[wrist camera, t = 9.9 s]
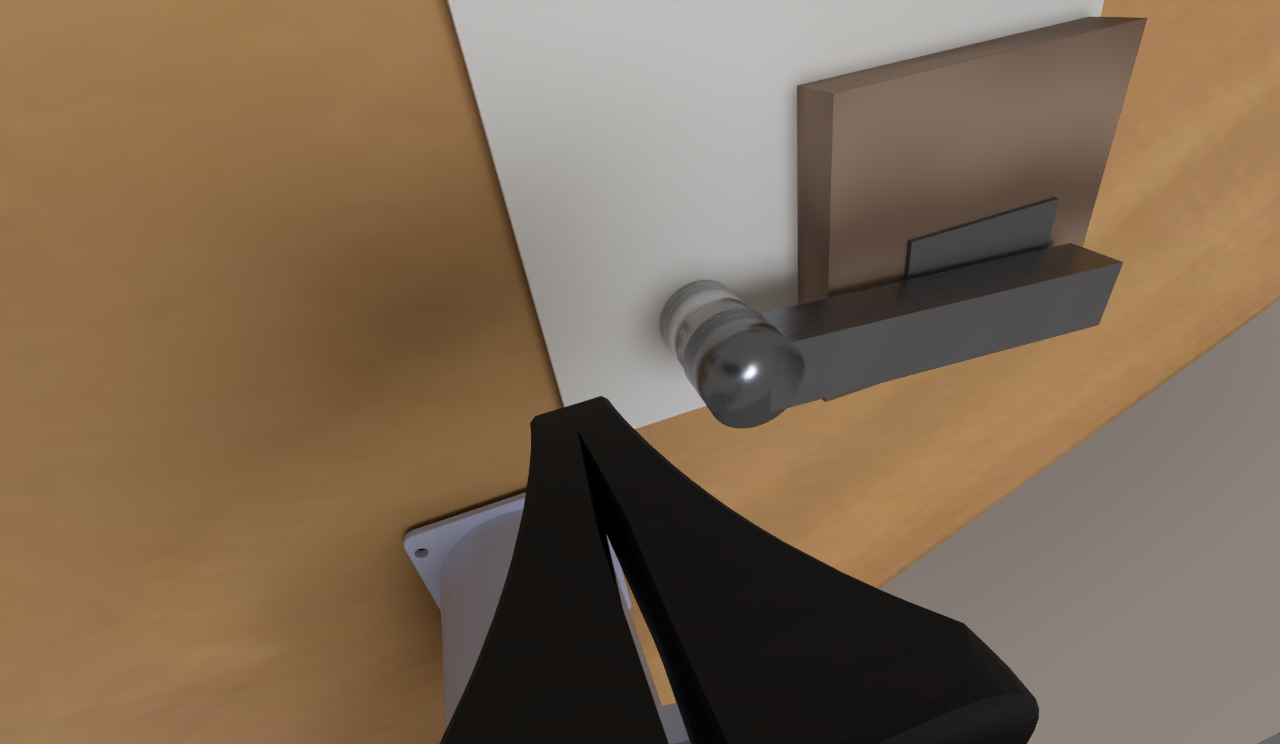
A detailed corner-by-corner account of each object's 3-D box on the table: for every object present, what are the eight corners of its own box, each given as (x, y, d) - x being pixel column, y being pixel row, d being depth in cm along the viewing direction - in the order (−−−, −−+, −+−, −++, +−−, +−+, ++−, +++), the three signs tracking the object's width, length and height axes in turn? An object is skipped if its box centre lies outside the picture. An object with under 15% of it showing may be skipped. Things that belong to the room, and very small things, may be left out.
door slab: (1021, 302, 26) (1061, 322, 25) (798, 375, 25) (825, 401, 23) (1088, 16, 20) (1147, 18, 19) (796, 85, 18) (833, 93, 17)
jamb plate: (1013, 290, 27) (1031, 299, 26) (571, 432, 24) (576, 448, 23) (1160, -373, 16) (1199, -392, 15) (363, -289, 13) (359, -309, 12)
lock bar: (684, 403, 20) (708, 439, 18) (681, 319, 18) (706, 350, 17) (1047, 311, 23) (1094, 334, 22) (1074, 232, 22) (1127, 250, 20)
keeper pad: (1032, 287, 23) (1036, 289, 23) (898, 331, 22) (901, 333, 22) (1054, 197, 21) (1059, 198, 21) (907, 240, 20) (911, 242, 20)
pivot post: (738, 341, 23) (766, 370, 21) (665, 364, 22) (686, 395, 20) (734, 270, 21) (763, 294, 19) (654, 293, 21) (676, 320, 19)
